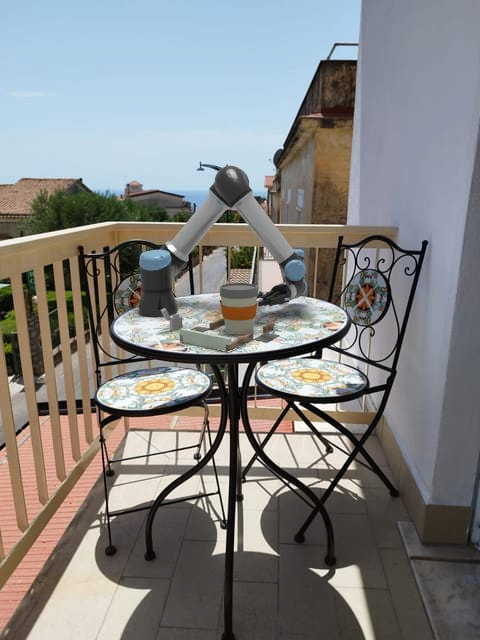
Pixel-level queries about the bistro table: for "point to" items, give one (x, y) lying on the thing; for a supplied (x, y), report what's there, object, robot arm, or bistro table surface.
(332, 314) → the bistro table surface
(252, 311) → the reusable coffee cup
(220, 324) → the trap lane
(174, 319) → the lighter
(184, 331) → the pale grey board
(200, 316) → the bistro table surface
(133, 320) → the bistro table surface
